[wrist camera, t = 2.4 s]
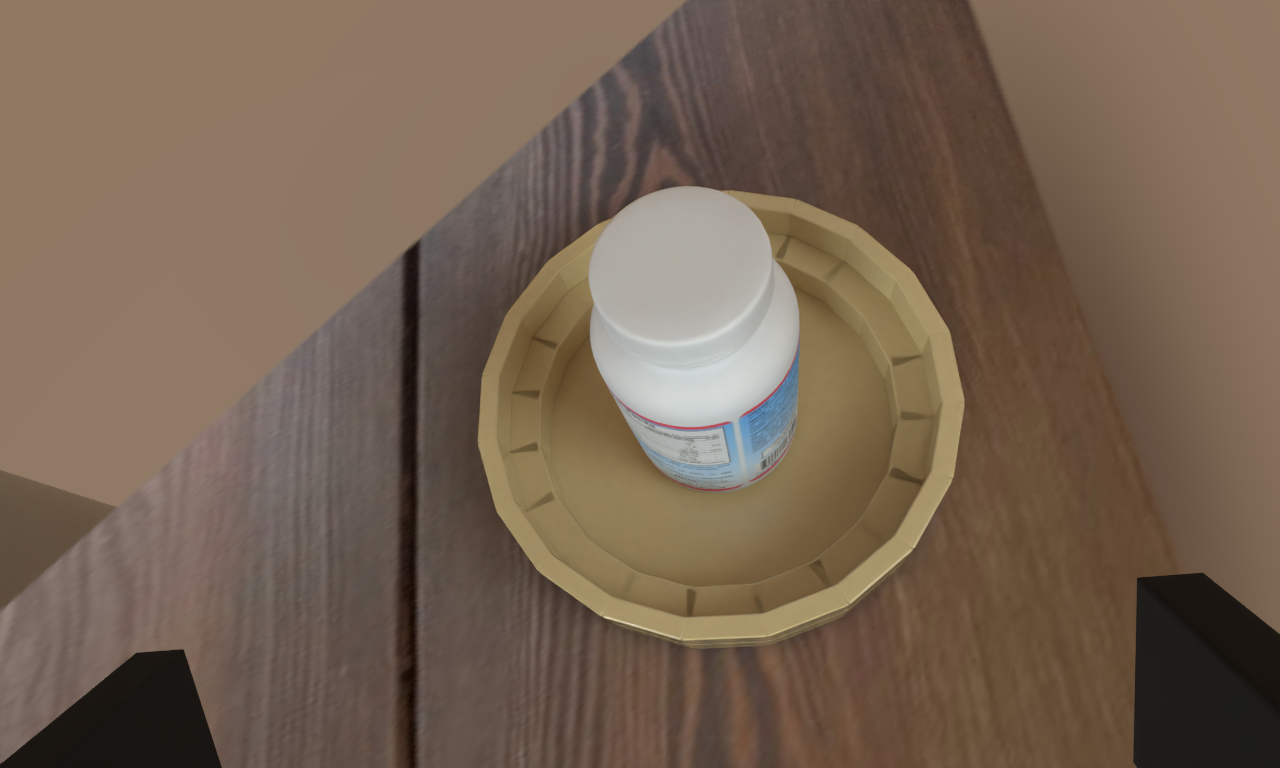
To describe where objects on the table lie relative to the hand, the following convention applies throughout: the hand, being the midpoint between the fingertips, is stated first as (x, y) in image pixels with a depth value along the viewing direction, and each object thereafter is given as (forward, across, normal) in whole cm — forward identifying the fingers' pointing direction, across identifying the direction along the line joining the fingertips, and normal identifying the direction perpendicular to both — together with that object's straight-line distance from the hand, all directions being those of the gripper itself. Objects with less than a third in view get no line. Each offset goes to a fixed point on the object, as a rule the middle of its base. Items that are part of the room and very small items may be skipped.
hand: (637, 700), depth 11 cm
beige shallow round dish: (+19, +1, -2) cm, 19 cm away
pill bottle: (+19, +1, -2) cm, 19 cm away
